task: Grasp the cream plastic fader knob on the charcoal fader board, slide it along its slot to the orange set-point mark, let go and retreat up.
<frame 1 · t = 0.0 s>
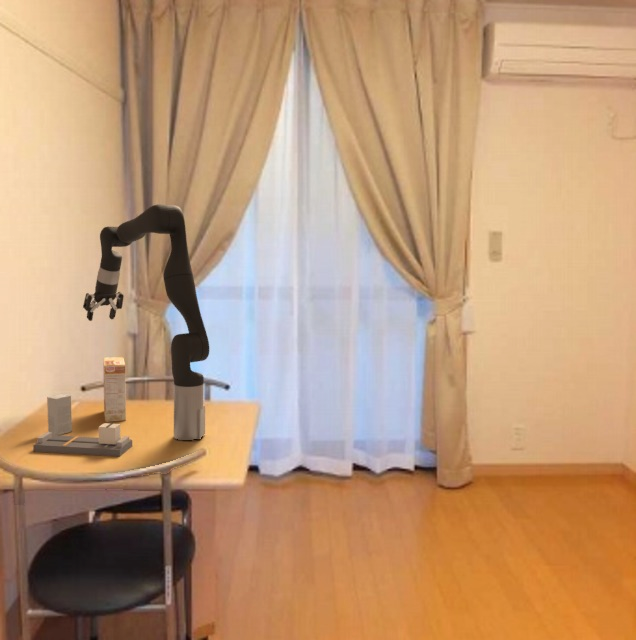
hand: (100, 319, 260), 31 cm above the table, tool tilted 20°, fingers open, 8 cm apart
coffeecake box: (114, 416, 246), on the table
fader board: (83, 448, 209), on the table
skincare box: (59, 433, 224), on the table
fader knob: (109, 433, 208), point 5 cm above the table, slide at 0.0 cm
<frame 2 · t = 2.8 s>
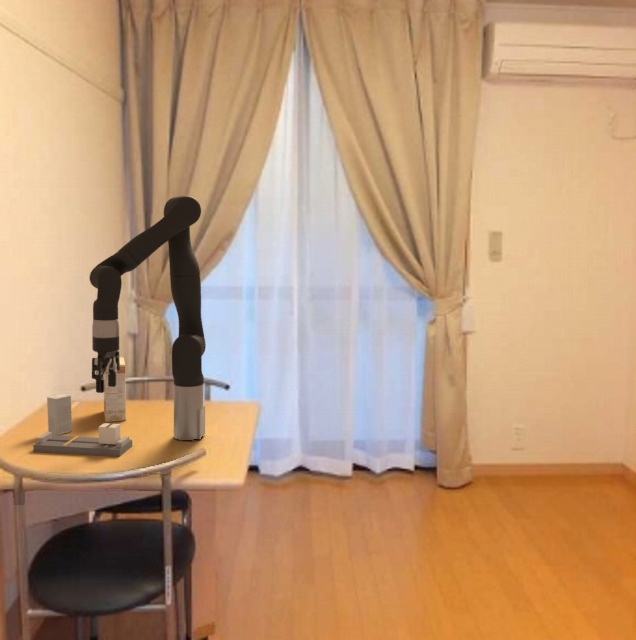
hand: (106, 389, 207), 18 cm above the table, tool pointing down, fingers open, 8 cm apart
nothing on the table moved.
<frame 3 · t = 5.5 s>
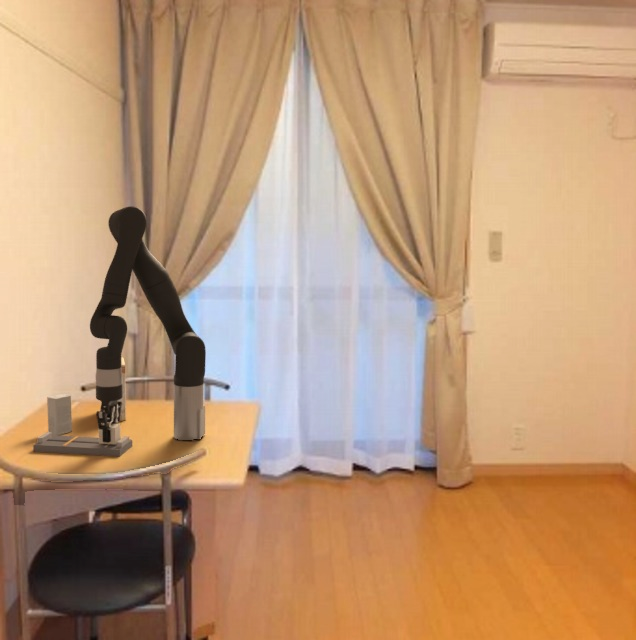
hand: (109, 439, 208), 3 cm above the table, tool pointing down, fingers closed on fader knob, 4 cm apart
fader knob: (109, 433, 208), point 5 cm above the table, slide at 0.0 cm, touching gripper
everything else where it was.
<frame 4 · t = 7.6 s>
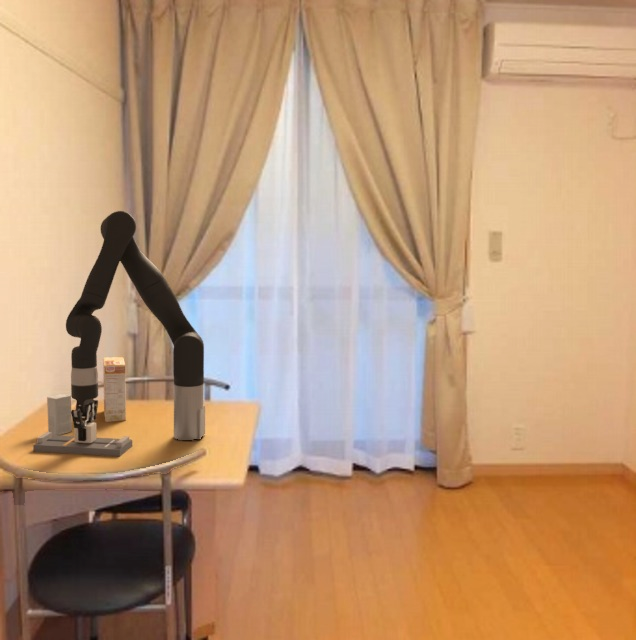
hand: (85, 438, 209), 3 cm above the table, tool pointing down, fingers closed on fader knob, 4 cm apart
fader knob: (85, 432, 209), point 5 cm above the table, slide at 7.4 cm, touching gripper
everything else where it was.
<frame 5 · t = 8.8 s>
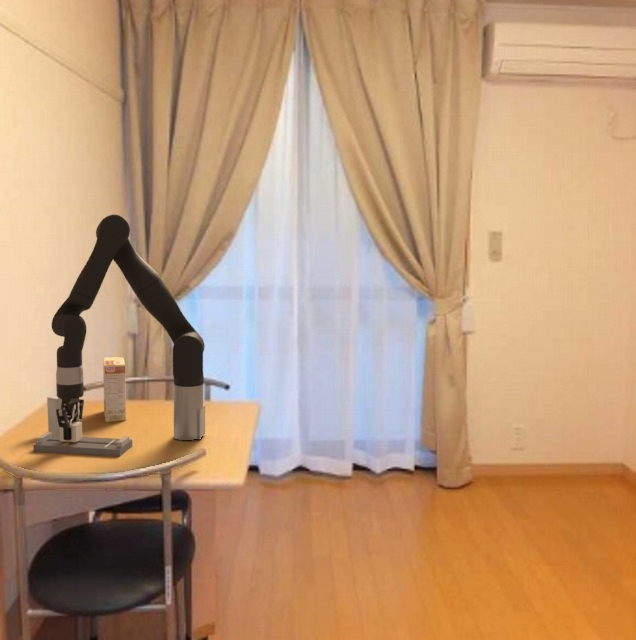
hand: (71, 437, 209), 3 cm above the table, tool pointing down, fingers closed on fader knob, 4 cm apart
fader knob: (70, 431, 209), point 5 cm above the table, slide at 11.9 cm, touching gripper
everything else where it was.
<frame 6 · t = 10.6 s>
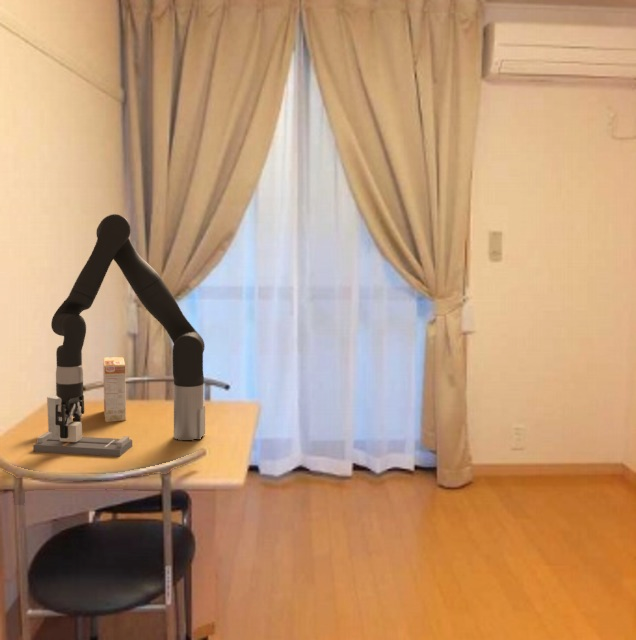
hand: (70, 433, 209), 4 cm above the table, tool pointing down, fingers open, 8 cm apart
fader knob: (70, 431, 209), point 5 cm above the table, slide at 11.9 cm
everything else where it was.
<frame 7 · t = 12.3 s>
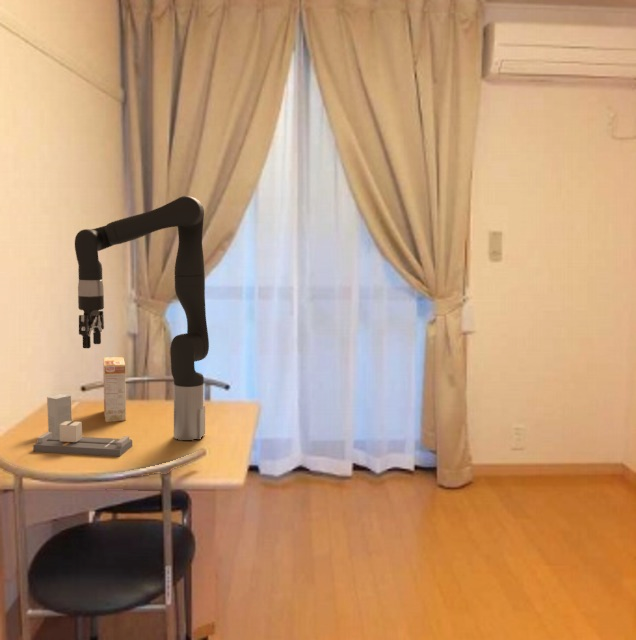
hand: (92, 346, 220), 28 cm above the table, tool pointing down, fingers open, 8 cm apart
nothing on the table moved.
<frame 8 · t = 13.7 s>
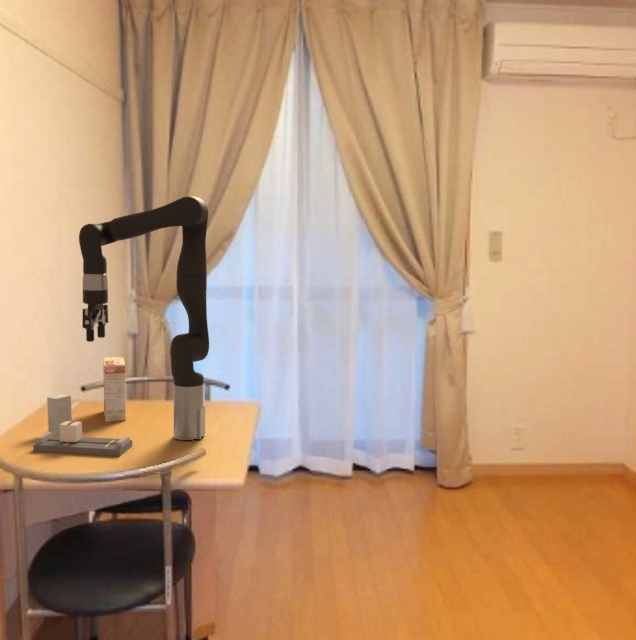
hand: (95, 339, 223), 30 cm above the table, tool pointing down, fingers open, 8 cm apart
nothing on the table moved.
at the end: fader knob slide at 11.9 cm; the gripper is holding nothing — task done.
